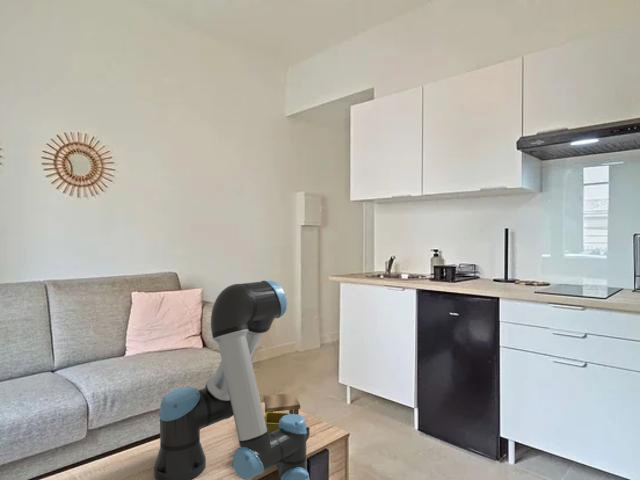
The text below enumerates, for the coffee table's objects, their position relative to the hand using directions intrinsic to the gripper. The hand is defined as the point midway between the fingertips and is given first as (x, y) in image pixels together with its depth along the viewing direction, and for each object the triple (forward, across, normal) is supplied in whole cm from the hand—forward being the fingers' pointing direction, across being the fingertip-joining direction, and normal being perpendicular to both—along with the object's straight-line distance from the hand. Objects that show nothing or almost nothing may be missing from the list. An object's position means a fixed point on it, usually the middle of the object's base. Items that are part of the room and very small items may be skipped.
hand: (276, 424), depth 143 cm
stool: (+11, +4, -6) cm, 13 cm away
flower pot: (-1, 0, -6) cm, 6 cm away
